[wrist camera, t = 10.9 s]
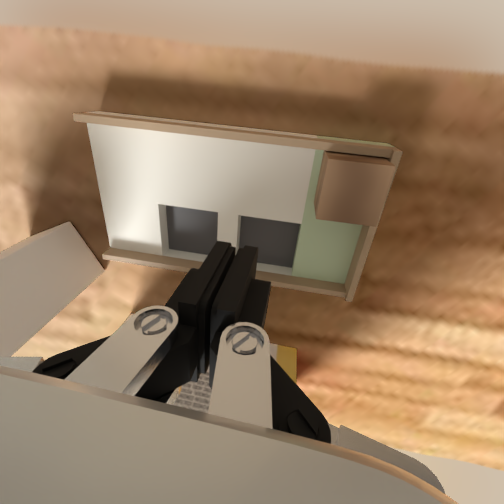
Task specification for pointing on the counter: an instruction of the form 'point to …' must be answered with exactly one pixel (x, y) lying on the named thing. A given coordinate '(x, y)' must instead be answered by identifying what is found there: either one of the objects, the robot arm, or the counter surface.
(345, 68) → the counter surface
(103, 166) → the board
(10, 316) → the milk carton
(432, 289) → the counter surface
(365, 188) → the walnut block
